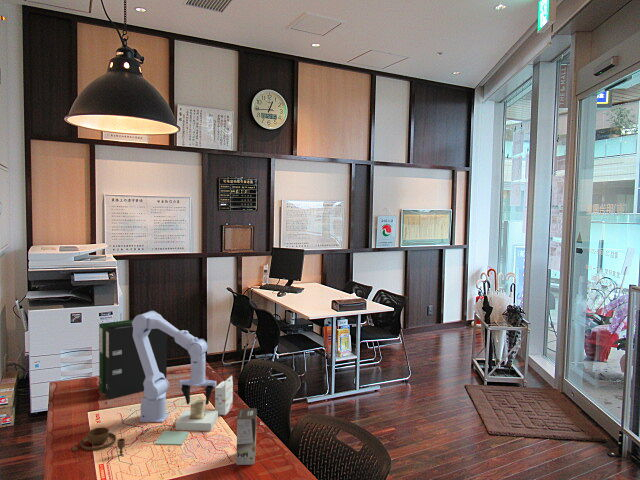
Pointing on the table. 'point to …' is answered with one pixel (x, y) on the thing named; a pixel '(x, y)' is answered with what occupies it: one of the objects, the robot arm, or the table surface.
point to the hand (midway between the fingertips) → (197, 403)
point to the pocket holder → (197, 421)
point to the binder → (126, 358)
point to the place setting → (100, 440)
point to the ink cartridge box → (224, 397)
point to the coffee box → (246, 436)
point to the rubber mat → (172, 438)
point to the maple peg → (197, 409)
